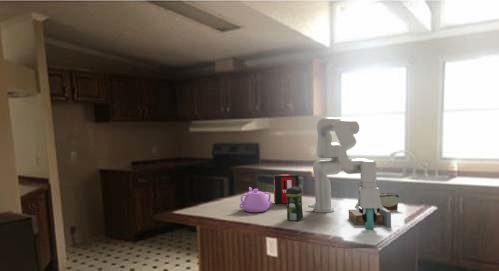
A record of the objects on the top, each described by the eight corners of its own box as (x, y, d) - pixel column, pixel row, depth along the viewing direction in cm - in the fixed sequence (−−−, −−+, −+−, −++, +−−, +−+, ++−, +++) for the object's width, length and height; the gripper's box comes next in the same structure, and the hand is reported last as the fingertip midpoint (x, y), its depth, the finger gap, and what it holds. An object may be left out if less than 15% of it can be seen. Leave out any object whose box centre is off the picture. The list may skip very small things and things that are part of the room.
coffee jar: (291, 216, 202) (291, 185, 202) (304, 218, 198) (303, 185, 198) (284, 220, 194) (284, 187, 194) (297, 222, 190) (297, 188, 190)
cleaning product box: (297, 201, 246) (296, 173, 246) (299, 204, 237) (298, 175, 237) (274, 202, 246) (273, 174, 246) (275, 205, 237) (274, 176, 237)
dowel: (366, 230, 170) (366, 205, 170) (364, 227, 174) (363, 204, 174) (375, 229, 170) (374, 205, 170) (372, 227, 174) (371, 204, 174)
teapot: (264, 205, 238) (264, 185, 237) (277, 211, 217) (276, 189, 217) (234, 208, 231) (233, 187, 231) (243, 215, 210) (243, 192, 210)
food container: (396, 208, 217) (396, 192, 217) (399, 210, 211) (399, 194, 211) (376, 208, 218) (376, 192, 218) (379, 210, 212) (378, 194, 212)
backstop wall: (387, 227, 174) (386, 211, 174) (371, 216, 198) (371, 202, 198) (391, 227, 174) (390, 211, 174) (375, 216, 198) (374, 202, 198)
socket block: (355, 225, 179) (355, 215, 179) (348, 218, 193) (348, 209, 193) (382, 224, 179) (382, 214, 179) (373, 217, 193) (373, 209, 193)
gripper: (353, 186, 169) (354, 223, 169) (388, 185, 168) (389, 223, 168) (349, 184, 176) (350, 220, 176) (382, 183, 176) (383, 219, 176)
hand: (369, 221), depth 172 cm, fingers closed on dowel, 4 cm apart
